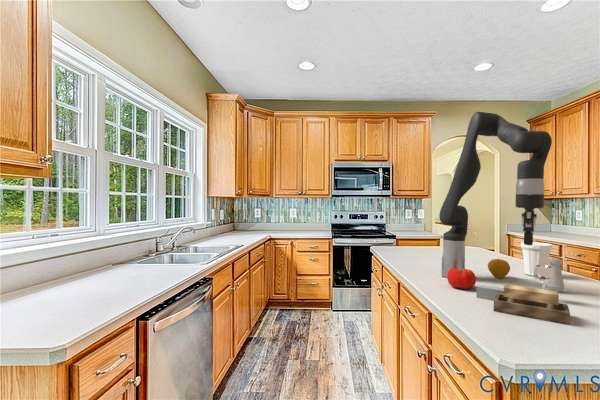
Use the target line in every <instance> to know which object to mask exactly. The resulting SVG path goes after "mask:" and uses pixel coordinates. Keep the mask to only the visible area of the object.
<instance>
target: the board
mask: <svg viewBox="0 0 600 400" xmlns="http://www.w3.org/2000/svg"><path fill="white" fill-rule="evenodd" d="M503 288H504V297H508V298H515V299H521V300H527V301H534V302H540V303H546V304H553V305H559V303H560V302H559V301H560V298H559V297H560V296H559V293H558V292H557V291H549V290H548V289H545V290H543V288H541V289H540V288H536V287H535V288H532V287H526V286H520V285H512V284H505V283H504V285H503Z"/></svg>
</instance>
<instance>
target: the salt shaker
mask: <svg viewBox="0 0 600 400" xmlns="http://www.w3.org/2000/svg"><path fill="white" fill-rule="evenodd" d="M548 265H549V266H551V267H552V269H553V273H554V280H553V282H551V283H549V284H545V287H547V290H549V291H557V292H558V294H560V293H562V292H563V290H564V289H565V283H564V277H563V273H562V272H563V271H562V268H561V266H562V265H563V260H562V259H561V258H559V257H558V258H557V257H551V258H550V257H549V261H548Z"/></svg>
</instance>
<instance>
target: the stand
mask: <svg viewBox="0 0 600 400" xmlns="http://www.w3.org/2000/svg"><path fill="white" fill-rule="evenodd" d="M496 293H499V294H504V287H499V286H498V287H497V286H491V285H486V284H485V285H484V284H479V283H478V284H477V286H476V298H477V299H483V300H488V301H489V300H490V301H494V298H495V296H496Z"/></svg>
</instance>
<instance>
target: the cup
mask: <svg viewBox="0 0 600 400" xmlns="http://www.w3.org/2000/svg"><path fill="white" fill-rule="evenodd" d="M520 248H521V250H522V258H523V264H524V265H523V267H524V275H526V276H529V277H533V278H535V277H534V271H535V267H536V265H545V266H549V259H550V253H551V251H552V249H553V244H551V243H547V242H546V243H545V242H538V241H537V242H536V241H533V244H532V245H525V244H524V241H521V242H520Z"/></svg>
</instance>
